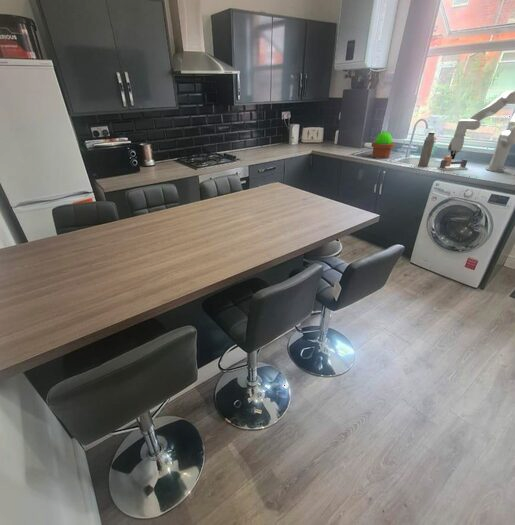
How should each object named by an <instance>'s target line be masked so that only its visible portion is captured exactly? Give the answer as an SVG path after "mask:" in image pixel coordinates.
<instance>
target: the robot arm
mask: <svg viewBox="0 0 515 525" xmlns="http://www.w3.org/2000/svg"><path fill="white" fill-rule="evenodd" d="M513 104H514V105H515V90H510V91H509V90H507V91H505V92H503V93H502V94H501V95H500V96H498V97H497V98H496V99H494V100H493V101H492V102H491V103H490V104H488V105H486V107H484V108H482V109H480V110H479V111H477V112H475V113H474V114H473V115H471V116H470V117H469V118H468V119H459V120H458V122H457V124H456V125H457V126H456V128H455V131H454V135H453V137H452V138H451V140H450V143H449V145H448V148H447V150H448V152H449V153H450V156H451V157H452V160H455V157H456V155H457V154H458V153H460V152H461V151H462V149H463V146H464V142H465V137H466V132H467V130H470V131H476V130H478V129H480V127H481V121H482V120H484V119H485V118H488V117H491V116H495V114H497V113H498V112H500V110H502V109H503V108H504V107H506V106H507V105H513ZM508 127H509V128H511V130H510V129H508V130H504V131H502V132H501V133H500V134H499V135H498V138H497V144H496V146H495V149H494V152H493V155H492V157H491V160H490V163H489V165H488V167H486V168H485V170H487V171H490V172H495V173H496V172H498V173H500V172H504V171H505V170H506V169H507V168H506V167H505V163H506V160H507V158H508V155H509V152H510V150H511V147H512V145H515V112H514V114H513V115H512V117H511V119H510V120H509V122H508Z"/></svg>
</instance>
